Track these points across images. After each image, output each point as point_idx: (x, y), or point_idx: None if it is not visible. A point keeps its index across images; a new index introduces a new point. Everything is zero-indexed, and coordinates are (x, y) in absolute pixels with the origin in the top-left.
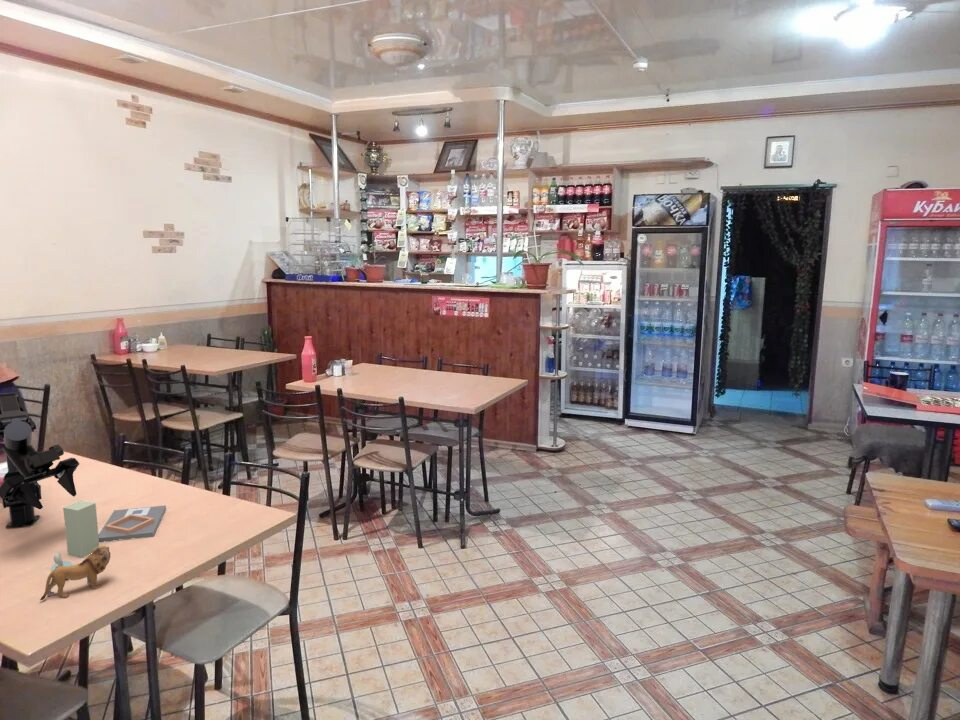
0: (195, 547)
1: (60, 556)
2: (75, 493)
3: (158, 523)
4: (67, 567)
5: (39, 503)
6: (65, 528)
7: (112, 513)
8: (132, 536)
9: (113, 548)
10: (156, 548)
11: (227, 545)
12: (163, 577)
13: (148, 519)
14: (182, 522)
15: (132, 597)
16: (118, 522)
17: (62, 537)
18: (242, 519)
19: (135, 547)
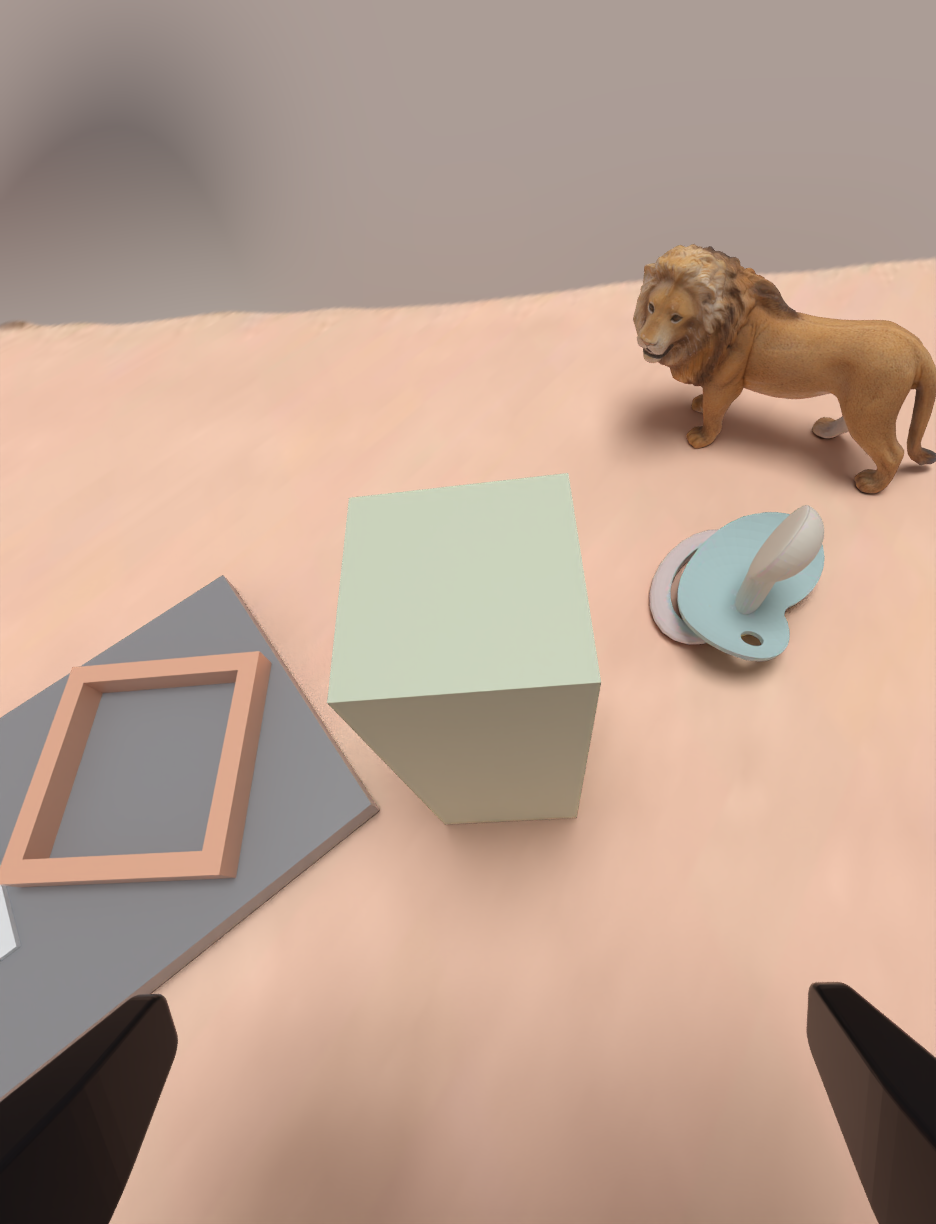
0: (296, 385)
1: (780, 531)
2: (138, 1005)
3: None
4: (856, 323)
5: (903, 1050)
6: (585, 764)
7: None
8: (273, 651)
9: None
10: (343, 484)
11: (257, 326)
12: (524, 311)
13: (91, 682)
14: (57, 599)
15: None
16: (134, 856)
17: (384, 1218)
18: (27, 424)
19: None
